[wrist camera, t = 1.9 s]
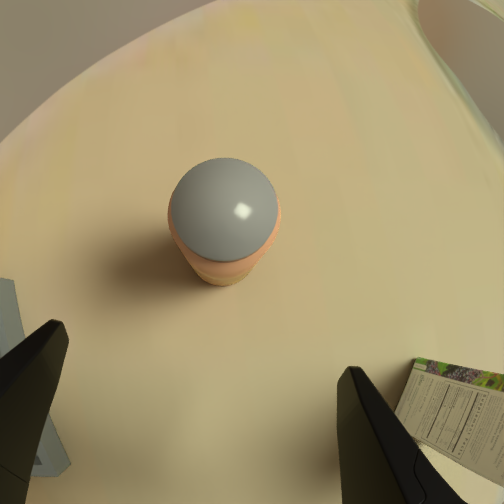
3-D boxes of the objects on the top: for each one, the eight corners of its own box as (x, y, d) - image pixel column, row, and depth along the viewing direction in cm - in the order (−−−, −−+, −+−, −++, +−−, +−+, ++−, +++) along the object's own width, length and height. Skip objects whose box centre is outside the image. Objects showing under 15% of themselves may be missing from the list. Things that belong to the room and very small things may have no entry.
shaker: (264, 275, 22) (300, 246, 12) (199, 294, 21) (181, 281, 11) (244, 212, 22) (263, 141, 12) (181, 230, 22) (153, 169, 12)
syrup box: (459, 372, 22) (596, 392, 8) (434, 435, 21) (558, 489, 6) (415, 355, 22) (570, 377, 8) (386, 425, 21) (520, 499, 6)
